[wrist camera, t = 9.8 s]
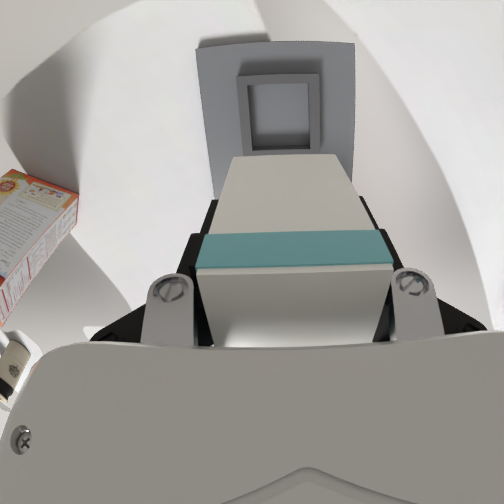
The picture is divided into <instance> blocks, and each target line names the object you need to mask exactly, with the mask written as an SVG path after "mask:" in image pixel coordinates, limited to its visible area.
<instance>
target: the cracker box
mask: <svg viewBox="0 0 504 504" xmlns="http://www.w3.org/2000/svg"><path fill="white" fill-rule="evenodd" d="M77 205H78V194H77V193H74V192H71V191H69V190H66V189H63V188H61V187H58V186H56V185H53V184H50V183H48V182H45V181H43V180H40V179H37V178H35V177H32V176H29V175H27V174H24V173H22V172H19V171H16V170H14V169H11V170H10V171H9V172H7V173H6V174H5V175H3V176H2V177H1V178H0V326H1V327H2V326H3V324H4V323H5V321H6V320H7V318H8V317H9V315H10V313H11V312H12V310H13V309H14V307H15V305H16V304H17V302H18V301H19V300H20V298H21V297H22V295H23V294H24V292H25V291H26V289H27V288H28V286H29V284H30V283H31V282H32V280H33V279H34V278H35V276H36V275H37V273H38V272H39V271H40V269H41V268H42V267H43V265H44V264H45V263H46V261H47V260H48V259H49V257H50V256H51V254H52V253H53V252H54V251H55V250H56V248H57V247H58V246H59V244H60V243H61V242H62V241H63V240H64V238H65V237H66V236H67V235H68V233H69V232H70V231H71V230H72V228H73V227H74V226H75V225H76V218H77Z"/></svg>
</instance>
